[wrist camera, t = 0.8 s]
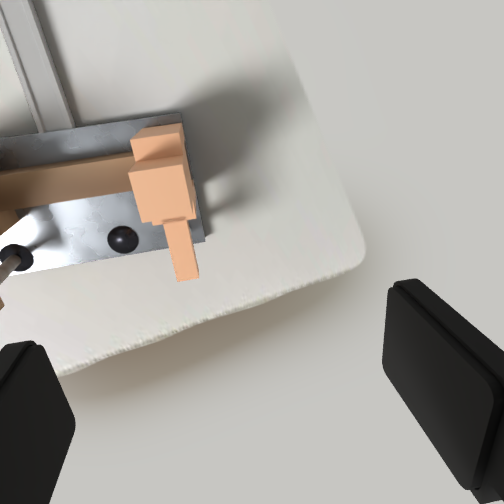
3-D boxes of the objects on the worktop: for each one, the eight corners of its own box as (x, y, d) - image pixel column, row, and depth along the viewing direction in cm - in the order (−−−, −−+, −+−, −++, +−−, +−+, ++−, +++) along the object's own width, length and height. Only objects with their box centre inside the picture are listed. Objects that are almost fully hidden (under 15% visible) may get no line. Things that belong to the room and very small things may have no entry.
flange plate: (-58, 146, 27) (-67, 148, 26) (180, 112, 28) (179, 113, 27) (5, 271, 32) (-1, 277, 31) (205, 237, 33) (205, 242, 32)
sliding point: (142, 128, 27) (120, 147, 19) (181, 122, 27) (176, 139, 19) (172, 248, 32) (165, 306, 23) (205, 242, 32) (210, 298, 24)
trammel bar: (-58, 156, 26) (-178, 191, 18) (178, 122, 28) (172, 140, 19) (3, 276, 31) (-70, 350, 22) (202, 242, 32) (206, 298, 24)
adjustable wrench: (101, 190, 31) (97, 197, 29) (22, 198, 30) (13, 204, 28) (-5, -250, 19) (-22, -279, 18) (-136, -259, 19) (-166, -290, 17)
